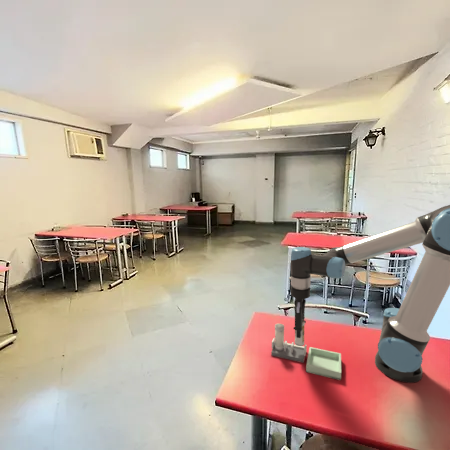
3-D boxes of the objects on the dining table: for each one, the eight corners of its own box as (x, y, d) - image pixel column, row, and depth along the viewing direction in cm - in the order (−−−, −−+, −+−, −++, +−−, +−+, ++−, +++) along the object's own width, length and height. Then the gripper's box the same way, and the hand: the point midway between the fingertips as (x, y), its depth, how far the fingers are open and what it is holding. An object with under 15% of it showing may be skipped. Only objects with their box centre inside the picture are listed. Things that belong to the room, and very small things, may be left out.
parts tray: (340, 360, 106) (340, 353, 106) (340, 380, 96) (341, 372, 95) (309, 353, 111) (309, 346, 111) (306, 372, 100) (306, 364, 100)
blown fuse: (304, 341, 110) (305, 319, 109) (303, 346, 106) (304, 323, 105) (295, 339, 111) (295, 317, 110) (294, 344, 108) (294, 321, 107)
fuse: (284, 346, 114) (285, 324, 112) (282, 351, 110) (283, 329, 109) (275, 344, 115) (276, 322, 114) (273, 349, 112) (274, 327, 110)
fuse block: (306, 351, 112) (307, 341, 112) (304, 363, 105) (305, 352, 104) (274, 344, 118) (274, 335, 117) (270, 355, 110) (270, 345, 110)
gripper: (293, 278, 115) (293, 329, 118) (287, 292, 99) (286, 350, 103) (312, 280, 112) (311, 332, 115) (307, 295, 96) (306, 354, 100)
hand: (299, 340), depth 109 cm, fingers closed on blown fuse, 4 cm apart
